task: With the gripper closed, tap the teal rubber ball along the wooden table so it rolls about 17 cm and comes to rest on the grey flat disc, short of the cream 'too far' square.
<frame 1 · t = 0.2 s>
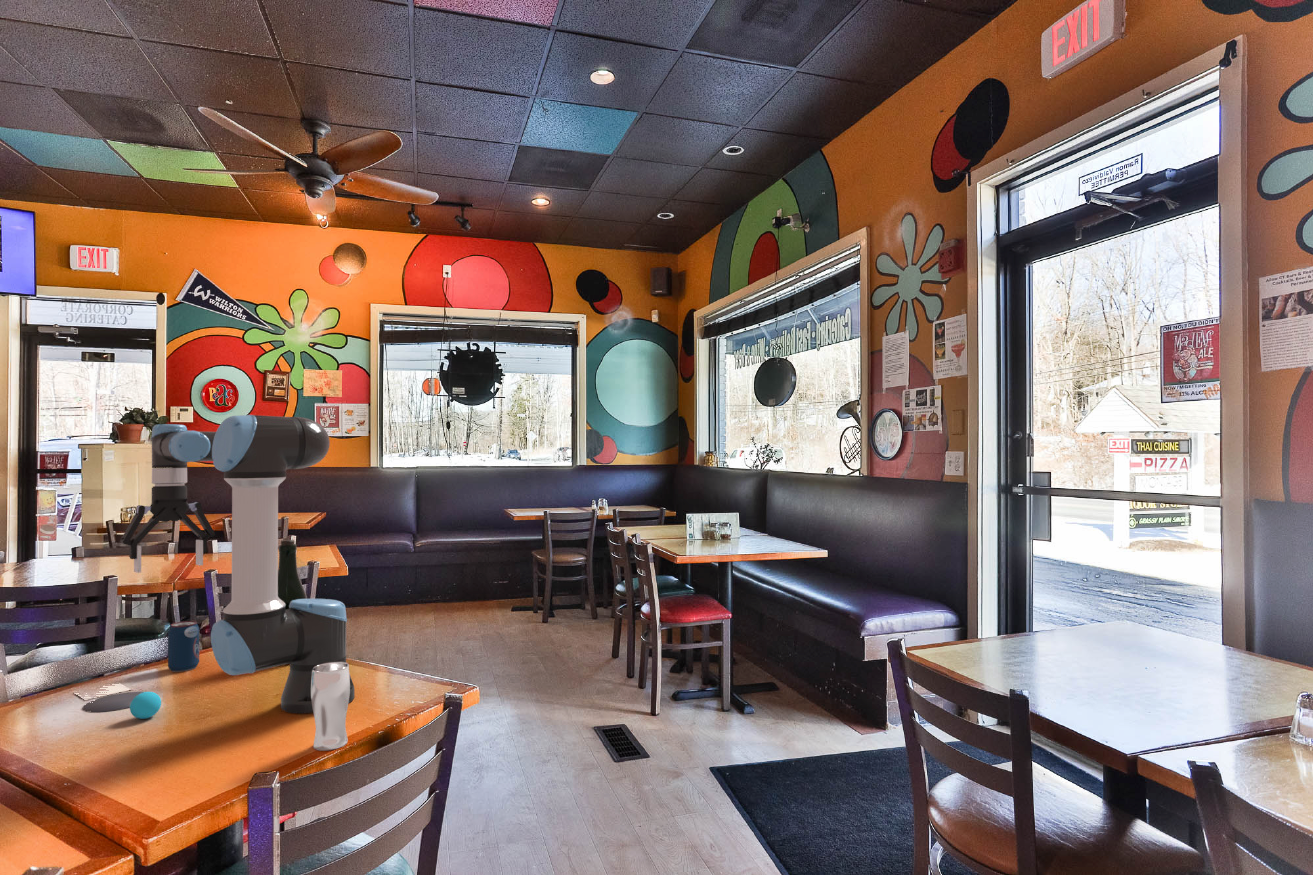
hand: (169, 568, 182), 28 cm above the table, tool pointing down, fingers open, 13 cm apart
beer bottle: (287, 661, 196), on the table
grey flat disc: (119, 701, 164), on the table
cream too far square: (102, 691, 171), on the table
beer glass: (330, 745, 139), on the table
soda can: (183, 669, 190), on the table
ball: (145, 705, 154), on the table
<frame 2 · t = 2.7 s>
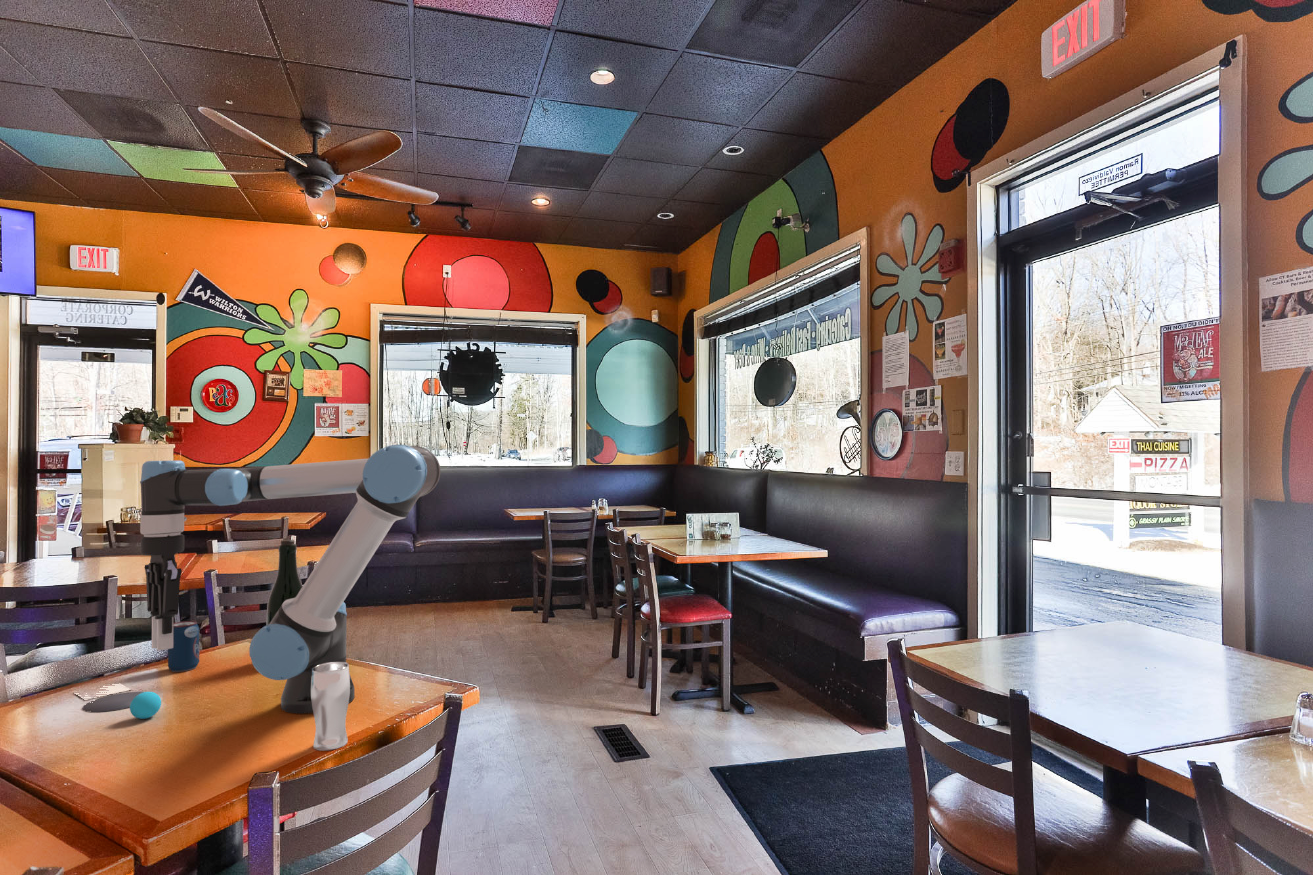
hand: (162, 647, 148), 16 cm above the table, tool pointing down, fingers open, 2 cm apart
nothing on the table moved.
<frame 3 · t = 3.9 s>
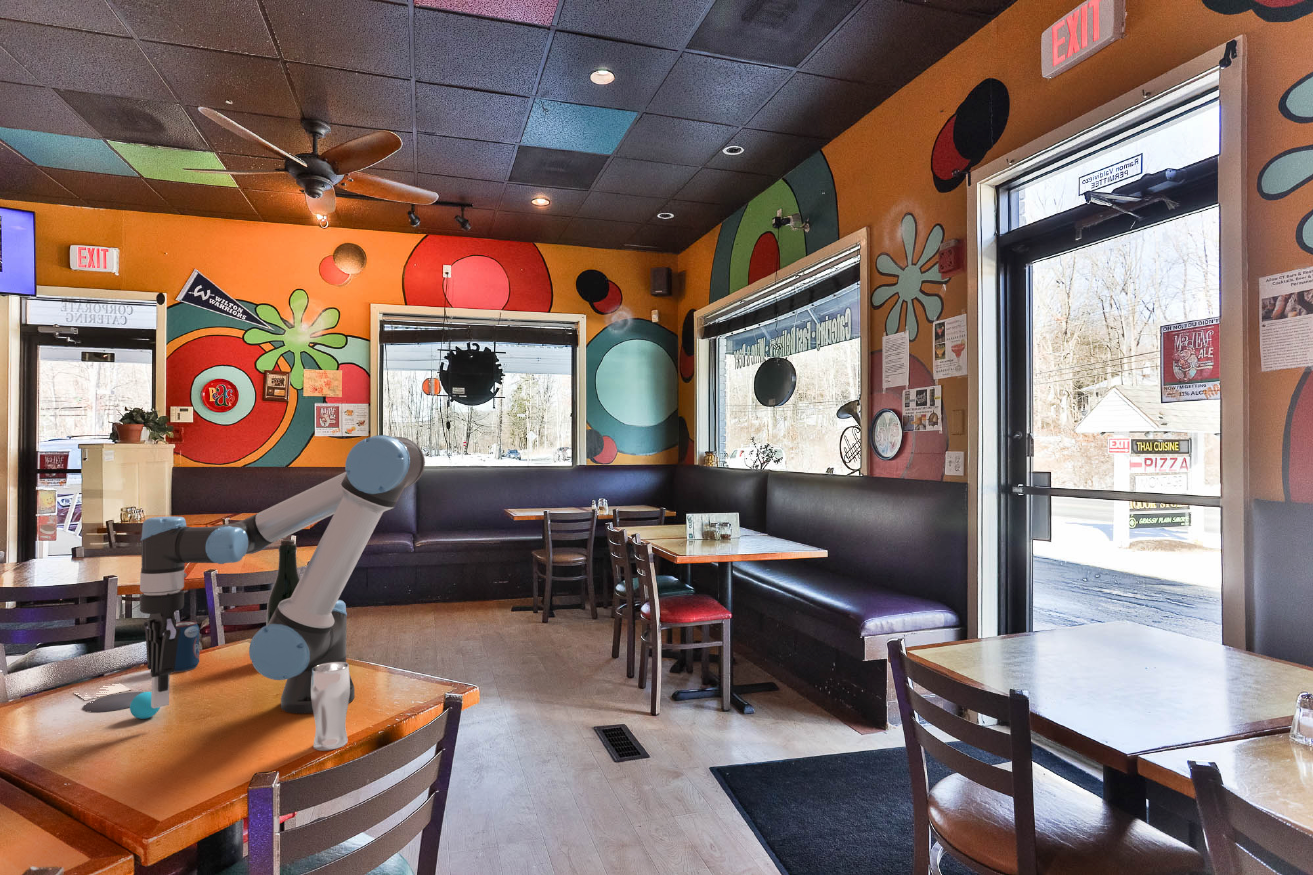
hand: (160, 705, 148), 5 cm above the table, tool pointing down, fingers closed
nothing on the table moved.
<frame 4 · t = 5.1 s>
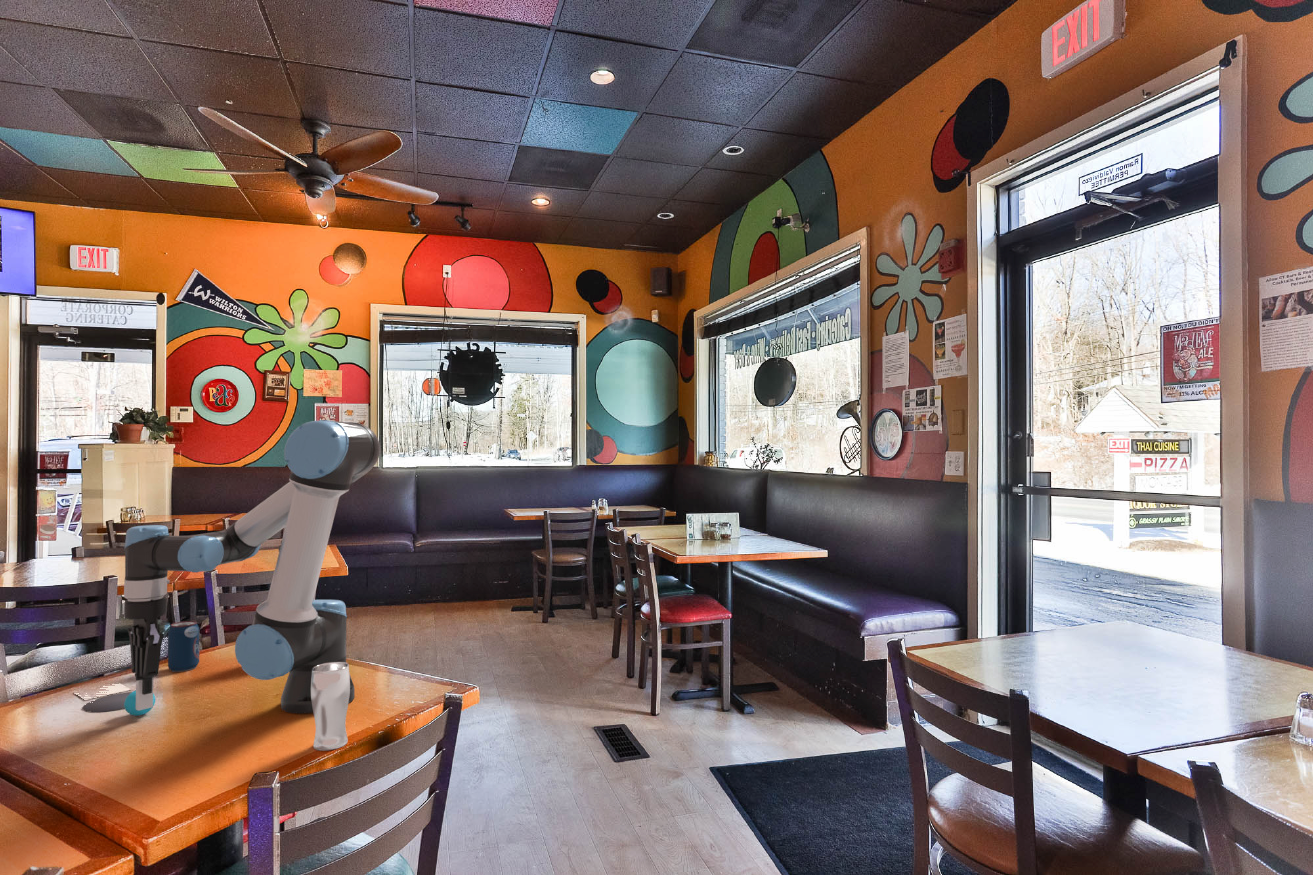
hand: (144, 707, 153), 2 cm above the table, tool pointing down, fingers closed
ball: (140, 702, 156), on the table
everything else where it was.
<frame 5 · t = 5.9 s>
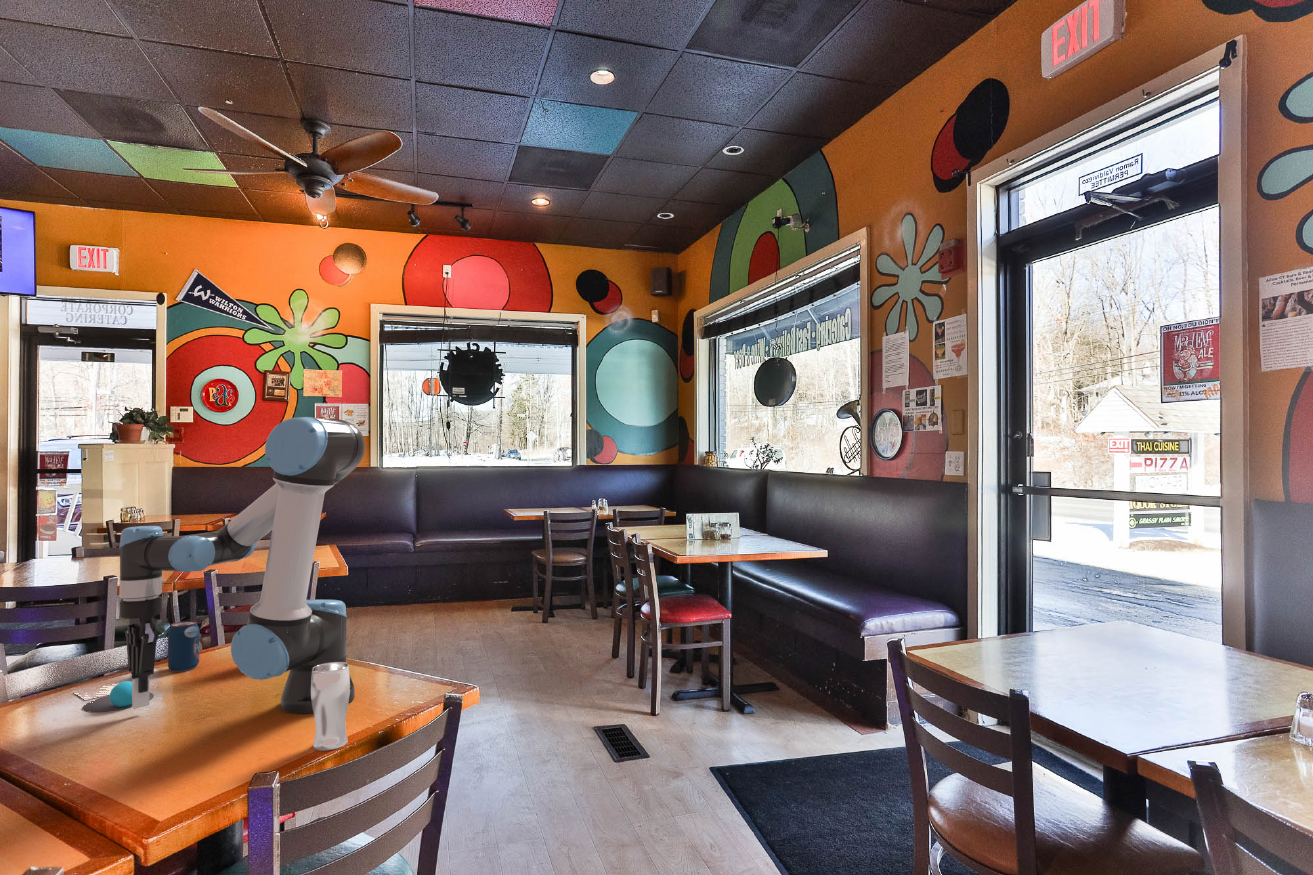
hand: (140, 706, 156), 2 cm above the table, tool pointing down, fingers closed
ball: (124, 694, 161), on the table
everything else where it was.
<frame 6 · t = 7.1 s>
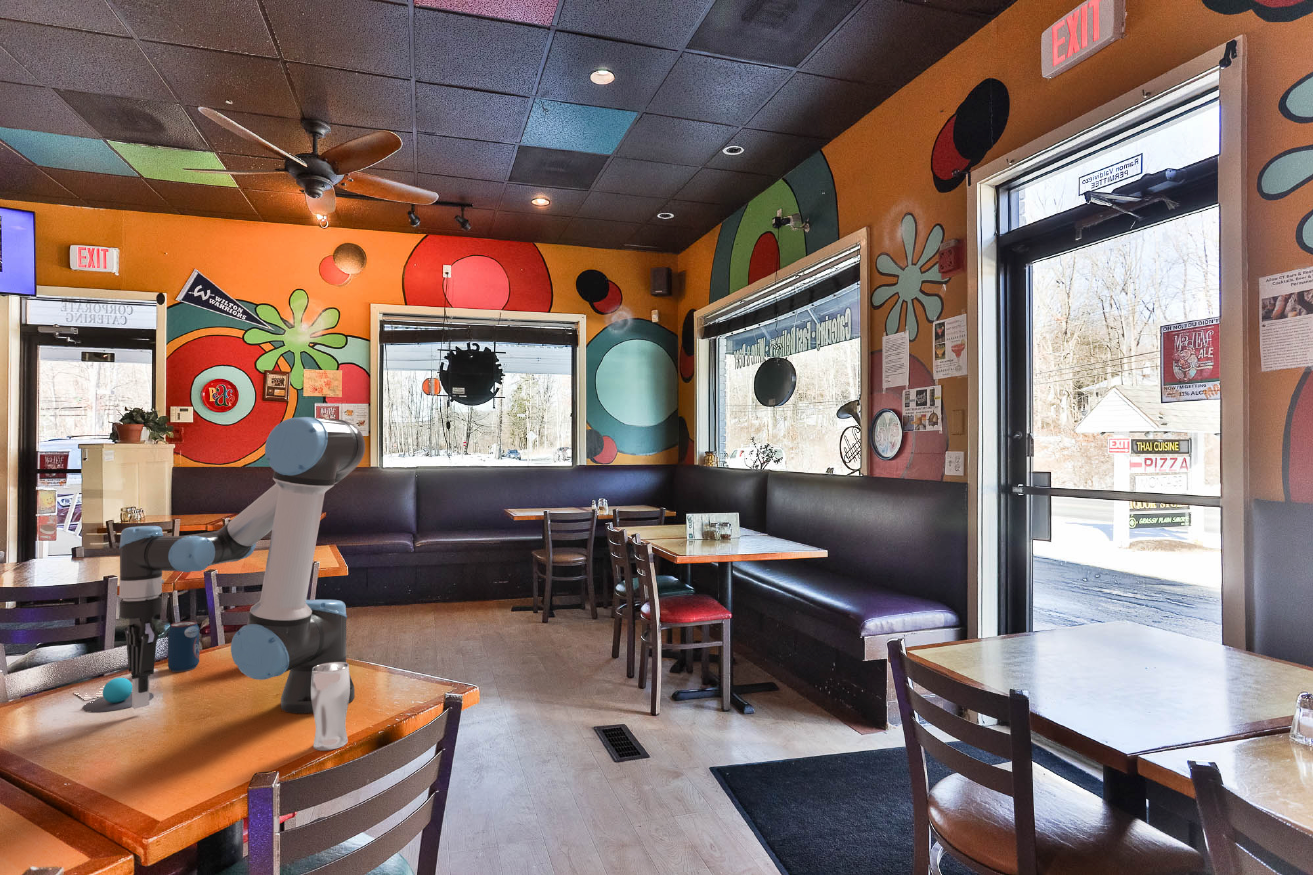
hand: (140, 706, 156), 2 cm above the table, tool pointing down, fingers closed
ball: (117, 690, 164), on the table
everything else where it was.
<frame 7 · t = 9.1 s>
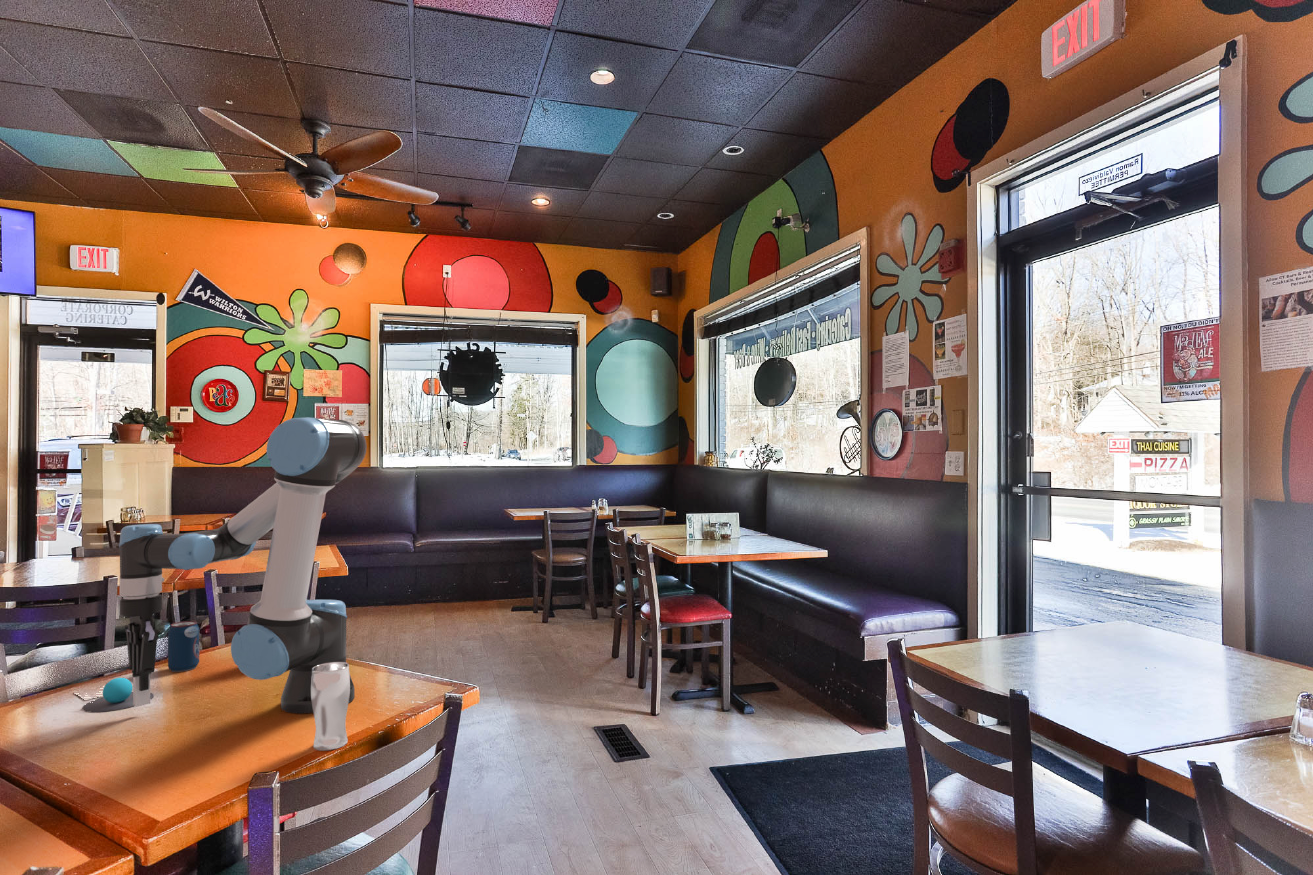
hand: (141, 704, 156), 2 cm above the table, tool pointing down, fingers closed
nothing on the table moved.
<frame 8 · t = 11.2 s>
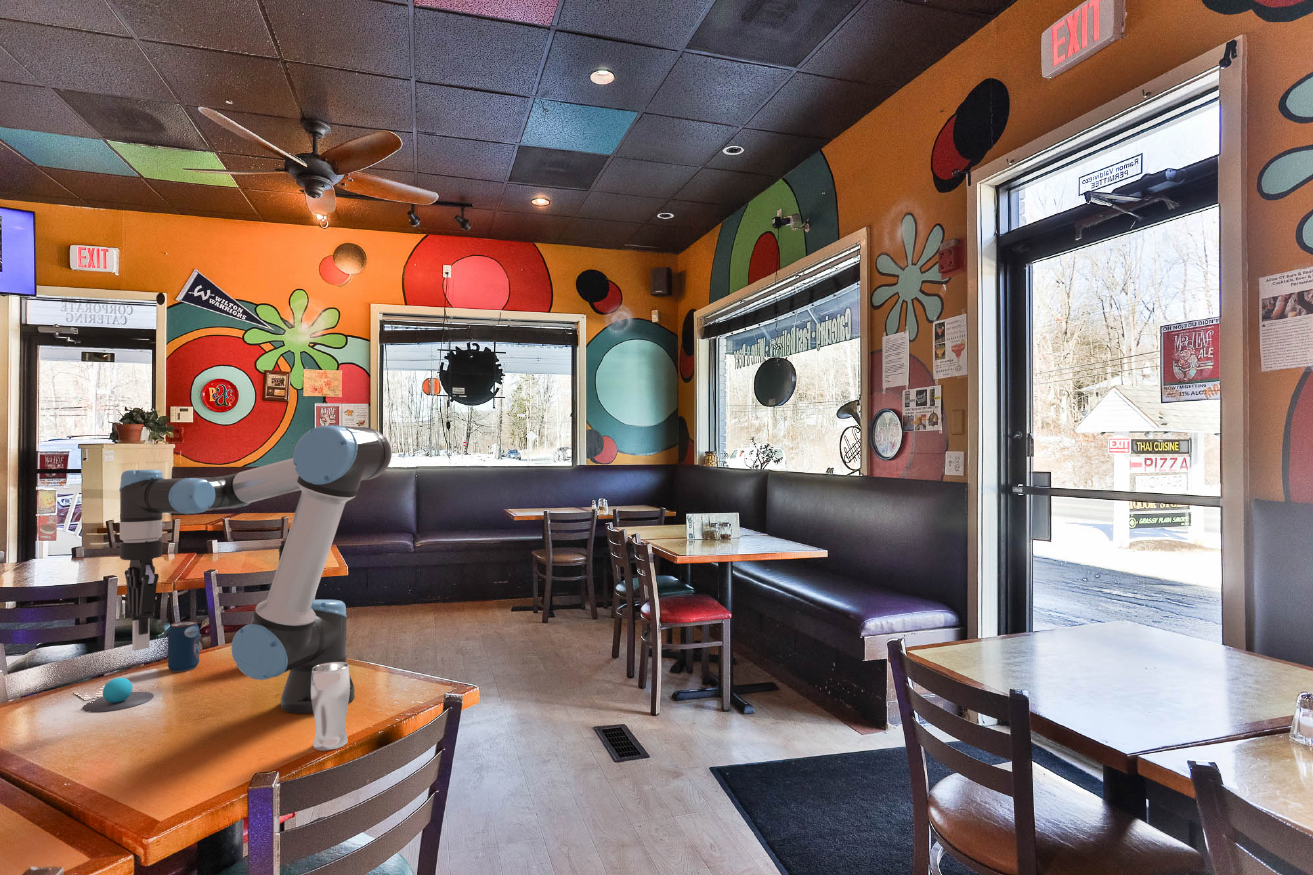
hand: (141, 648, 156), 14 cm above the table, tool pointing down, fingers closed
nothing on the table moved.
at the end: ball 0.3 cm from the grey flat disc (horizontally); ball at rest at the end (0.0 cm/s); ball moved 17.0 cm from its start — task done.
